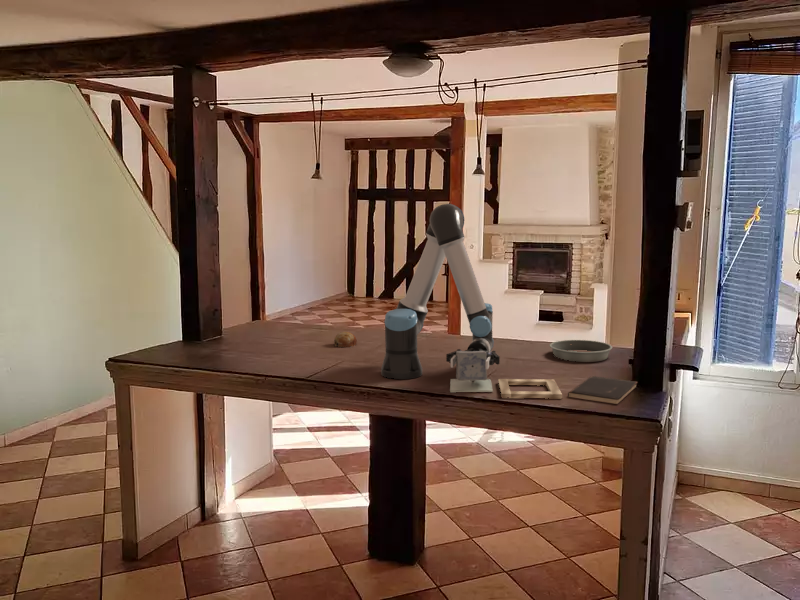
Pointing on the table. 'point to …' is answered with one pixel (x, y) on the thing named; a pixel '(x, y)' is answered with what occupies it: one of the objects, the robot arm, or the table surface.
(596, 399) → the hardcover book
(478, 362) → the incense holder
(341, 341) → the bread roll
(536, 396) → the frame
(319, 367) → the table surface
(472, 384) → the sage tile
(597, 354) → the cake pan
